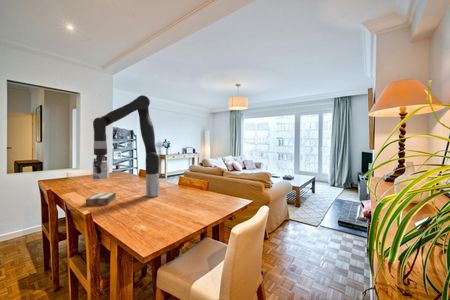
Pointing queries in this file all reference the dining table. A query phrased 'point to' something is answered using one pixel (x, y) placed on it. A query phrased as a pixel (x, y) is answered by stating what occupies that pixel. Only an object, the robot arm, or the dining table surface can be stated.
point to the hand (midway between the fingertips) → (101, 172)
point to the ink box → (104, 171)
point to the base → (101, 199)
